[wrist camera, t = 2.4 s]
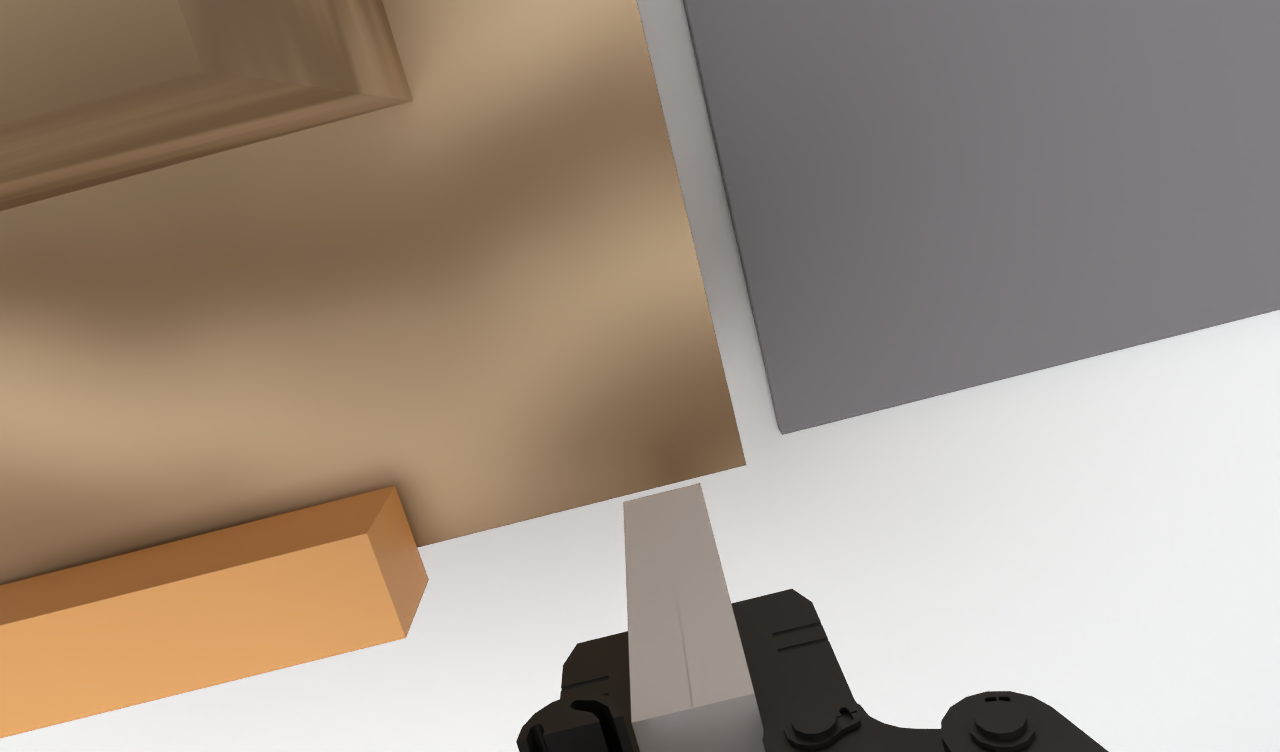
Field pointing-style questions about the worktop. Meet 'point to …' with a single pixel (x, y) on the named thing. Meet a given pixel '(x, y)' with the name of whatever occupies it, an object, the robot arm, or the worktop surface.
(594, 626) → the worktop surface
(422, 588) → the orange rectangular block
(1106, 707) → the worktop surface
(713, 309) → the worktop surface
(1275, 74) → the mat
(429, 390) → the lid
